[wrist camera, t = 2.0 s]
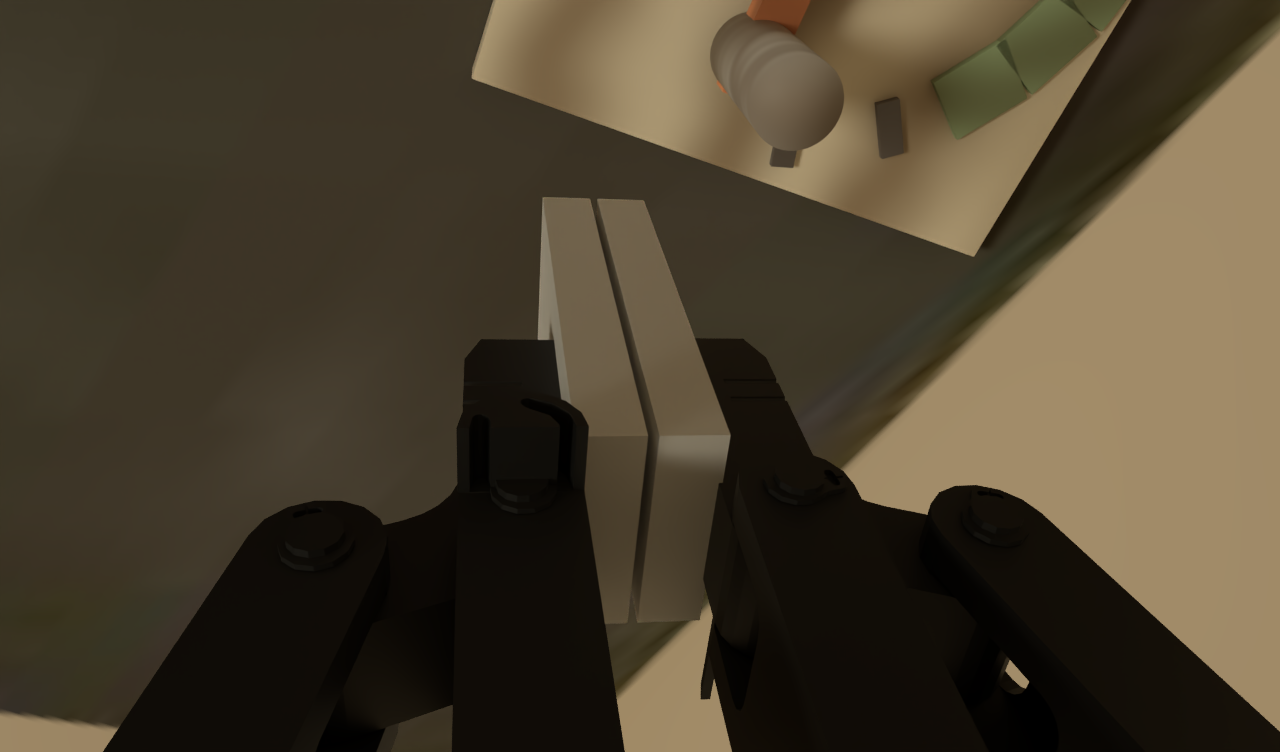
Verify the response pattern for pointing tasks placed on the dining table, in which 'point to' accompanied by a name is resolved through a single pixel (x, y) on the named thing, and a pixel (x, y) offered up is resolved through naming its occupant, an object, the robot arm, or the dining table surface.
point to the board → (872, 82)
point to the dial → (777, 75)
